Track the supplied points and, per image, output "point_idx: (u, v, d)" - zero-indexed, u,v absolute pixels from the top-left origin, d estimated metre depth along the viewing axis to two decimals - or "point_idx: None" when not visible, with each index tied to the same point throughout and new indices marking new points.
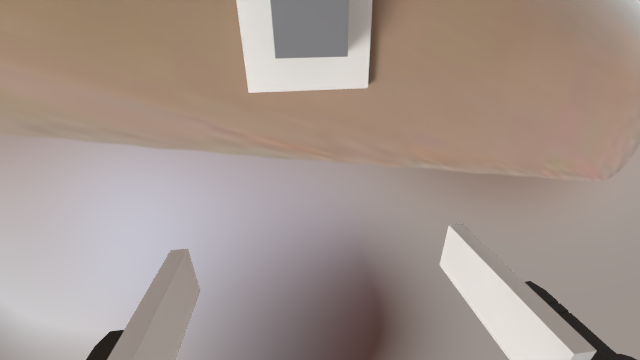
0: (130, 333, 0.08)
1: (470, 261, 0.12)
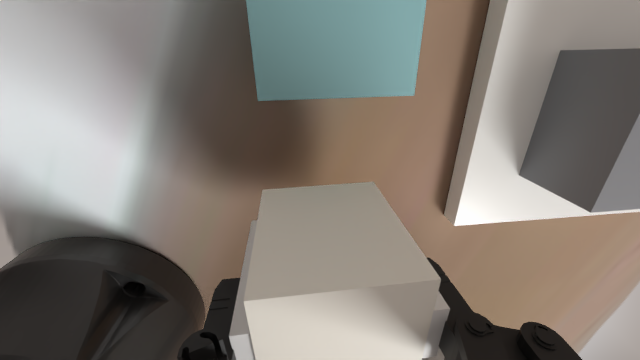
0: (247, 277, 0.11)
1: None
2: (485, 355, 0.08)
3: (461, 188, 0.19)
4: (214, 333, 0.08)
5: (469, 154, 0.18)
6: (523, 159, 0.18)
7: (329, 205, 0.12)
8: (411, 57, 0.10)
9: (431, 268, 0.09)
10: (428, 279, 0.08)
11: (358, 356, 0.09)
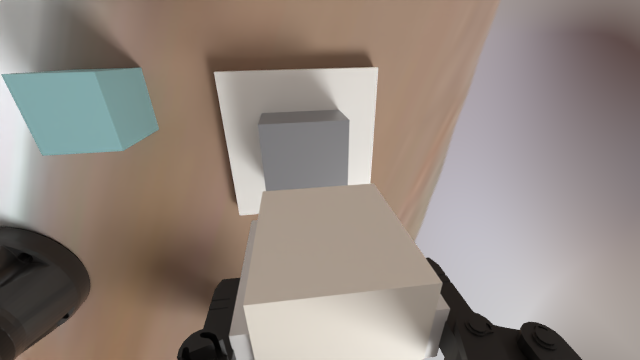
0: (247, 277, 0.11)
1: None
2: (485, 355, 0.08)
3: (235, 191, 0.30)
4: (214, 333, 0.08)
5: None
6: None
7: (329, 207, 0.12)
8: (113, 134, 0.21)
9: (433, 271, 0.09)
10: (430, 283, 0.08)
11: None
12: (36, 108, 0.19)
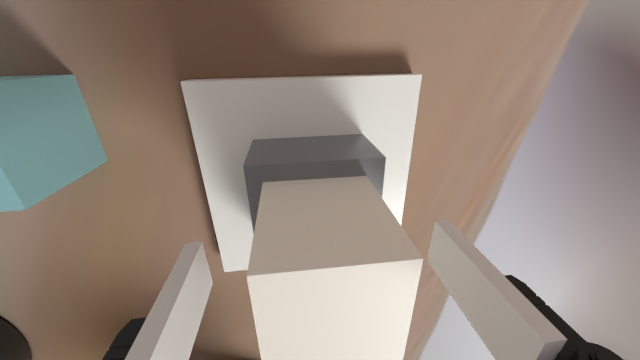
0: (153, 320, 0.09)
1: (454, 256, 0.12)
2: None
3: (218, 242, 0.22)
4: None
5: (212, 217, 0.21)
6: None
7: (324, 196, 0.13)
8: (5, 186, 0.13)
9: (415, 249, 0.10)
10: (412, 259, 0.09)
11: (349, 331, 0.10)
12: None
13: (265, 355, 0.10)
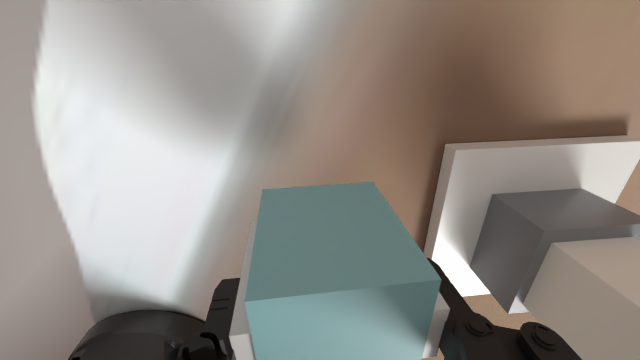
0: (247, 277, 0.11)
1: None
2: (485, 355, 0.08)
3: None
4: (214, 333, 0.08)
5: (431, 255, 0.24)
6: (472, 257, 0.24)
7: (632, 262, 0.16)
8: None
9: None
10: None
11: None
12: (291, 348, 0.09)
13: None
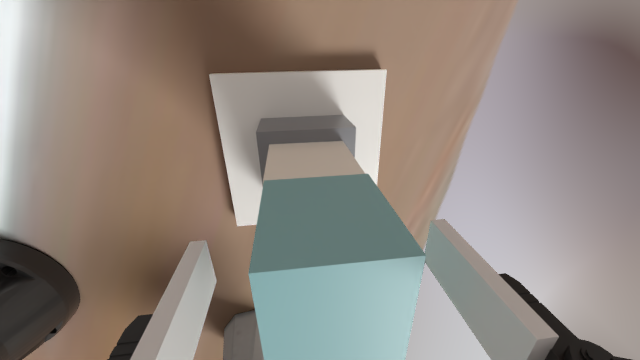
0: (159, 316, 0.09)
1: (449, 255, 0.12)
2: None
3: None
4: None
5: None
6: None
7: (311, 150, 0.19)
8: (402, 342, 0.11)
9: (364, 173, 0.16)
10: None
11: None
12: (290, 319, 0.10)
13: None
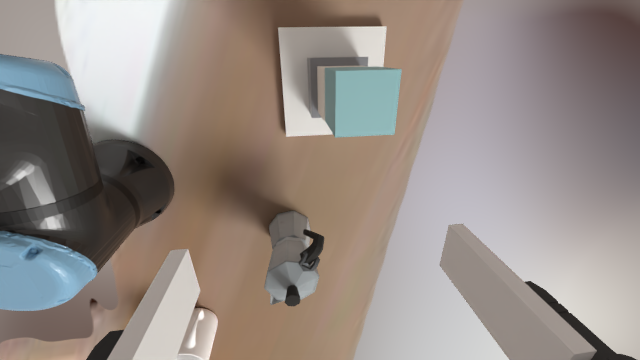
0: (130, 333, 0.08)
1: (470, 261, 0.12)
2: None
3: None
4: None
5: None
6: (308, 103, 0.42)
7: (343, 66, 0.34)
8: (393, 121, 0.26)
9: None
10: None
11: None
12: (348, 98, 0.24)
13: None
